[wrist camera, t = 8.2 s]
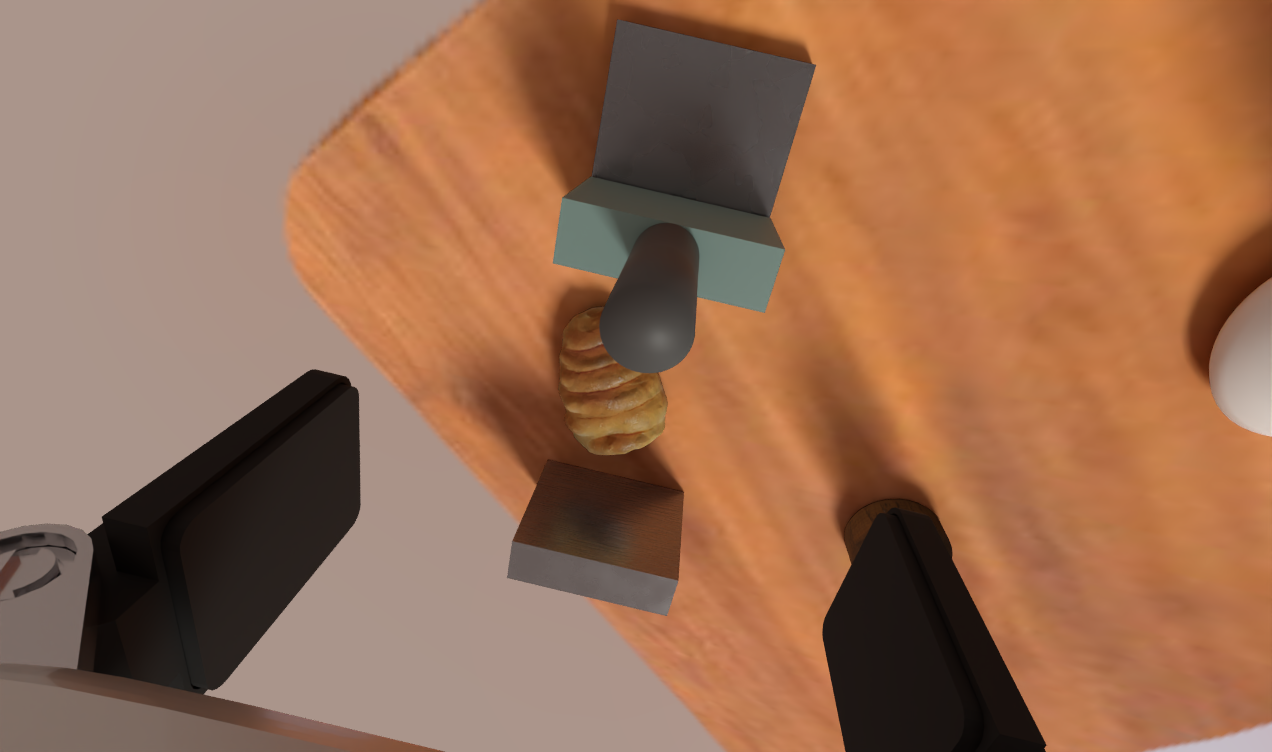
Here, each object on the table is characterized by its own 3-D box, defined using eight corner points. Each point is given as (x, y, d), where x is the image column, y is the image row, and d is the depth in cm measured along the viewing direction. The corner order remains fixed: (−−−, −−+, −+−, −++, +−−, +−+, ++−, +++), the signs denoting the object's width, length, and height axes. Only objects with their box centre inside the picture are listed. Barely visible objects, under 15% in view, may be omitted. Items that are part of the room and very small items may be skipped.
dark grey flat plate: (619, 21, 30) (617, 19, 29) (812, 65, 30) (816, 64, 29) (582, 250, 35) (579, 254, 34) (745, 288, 35) (746, 293, 34)
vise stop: (547, 459, 42) (512, 541, 35) (684, 491, 42) (678, 580, 35) (542, 492, 44) (507, 577, 36) (674, 523, 43) (666, 616, 36)
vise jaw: (590, 176, 32) (495, 246, 18) (770, 218, 32) (819, 322, 18) (582, 230, 33) (486, 336, 19) (754, 270, 33) (787, 407, 19)
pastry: (543, 312, 38) (527, 334, 34) (646, 294, 36) (640, 315, 33) (580, 437, 41) (569, 468, 38) (675, 424, 40) (672, 455, 37)
